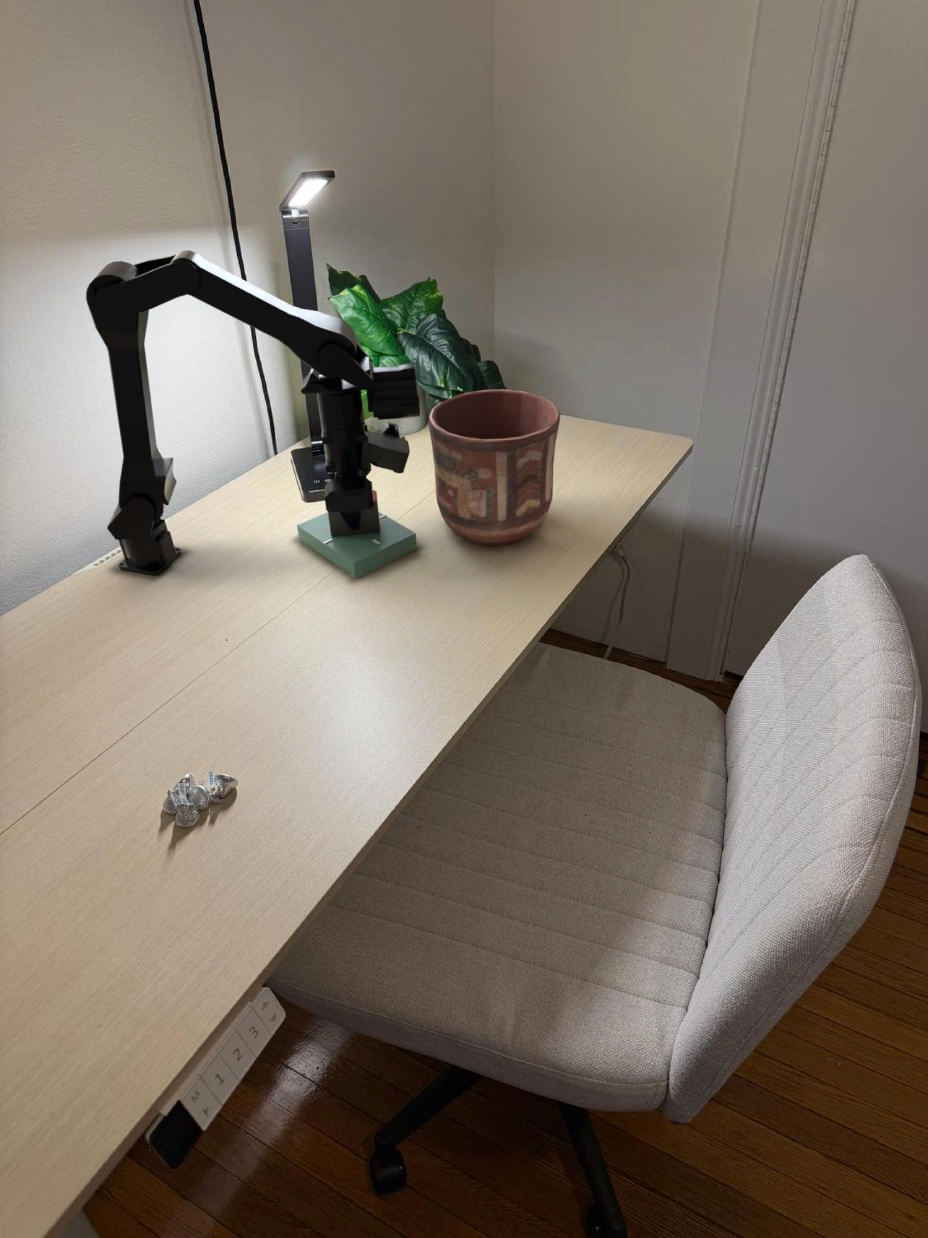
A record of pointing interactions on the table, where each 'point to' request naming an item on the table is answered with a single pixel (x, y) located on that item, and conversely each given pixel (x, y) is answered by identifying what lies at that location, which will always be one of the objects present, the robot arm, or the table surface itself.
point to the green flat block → (358, 544)
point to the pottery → (494, 463)
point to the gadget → (367, 521)
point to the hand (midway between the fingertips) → (354, 523)
